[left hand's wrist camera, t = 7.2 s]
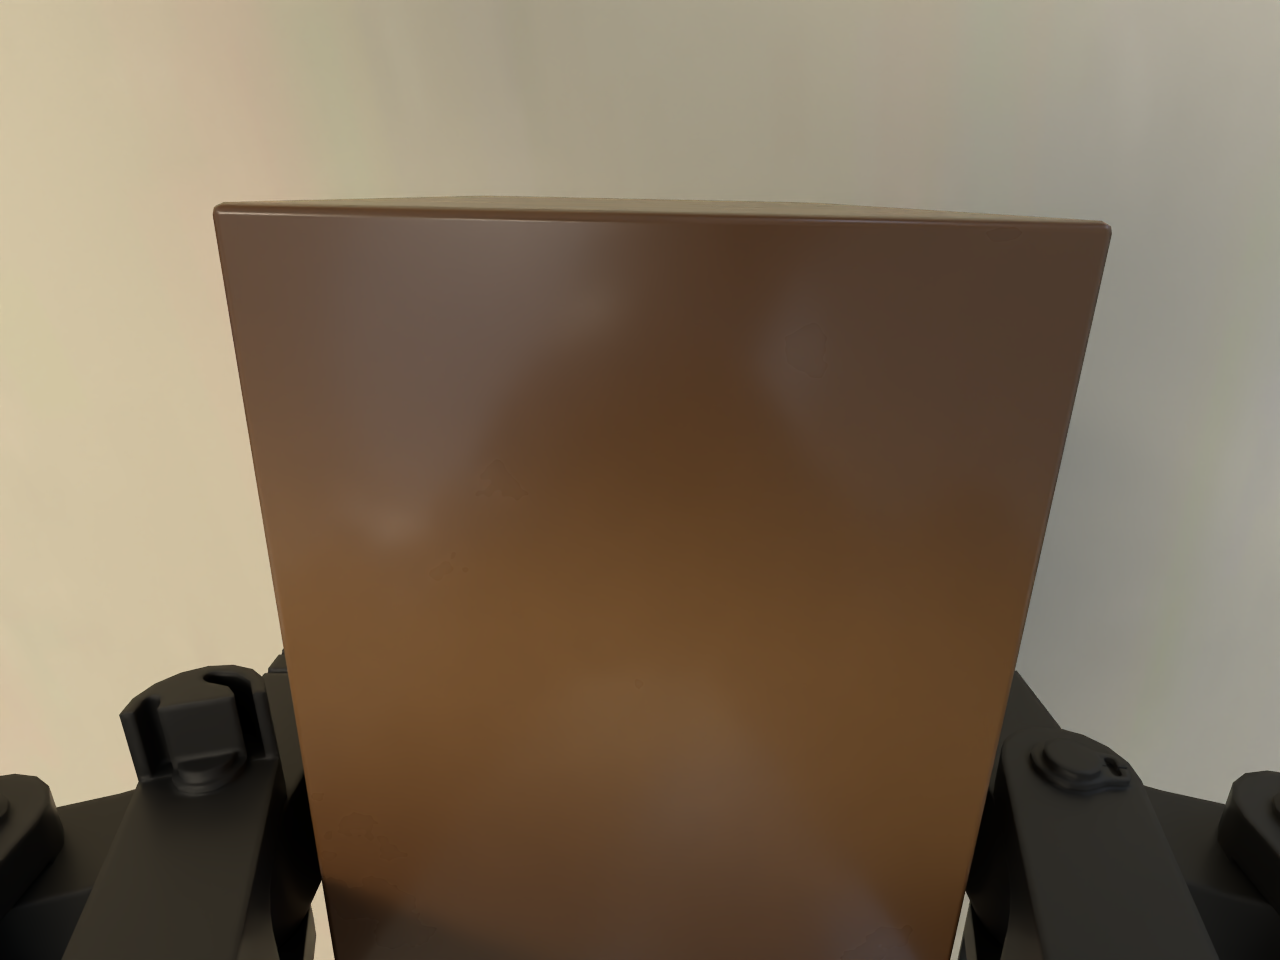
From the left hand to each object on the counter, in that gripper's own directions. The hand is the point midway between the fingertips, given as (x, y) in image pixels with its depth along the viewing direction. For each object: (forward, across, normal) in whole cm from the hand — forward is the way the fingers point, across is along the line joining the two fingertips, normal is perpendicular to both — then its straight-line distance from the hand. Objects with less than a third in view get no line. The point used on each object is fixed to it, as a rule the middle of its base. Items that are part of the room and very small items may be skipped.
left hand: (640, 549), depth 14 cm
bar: (0, 0, -21) cm, 21 cm away
